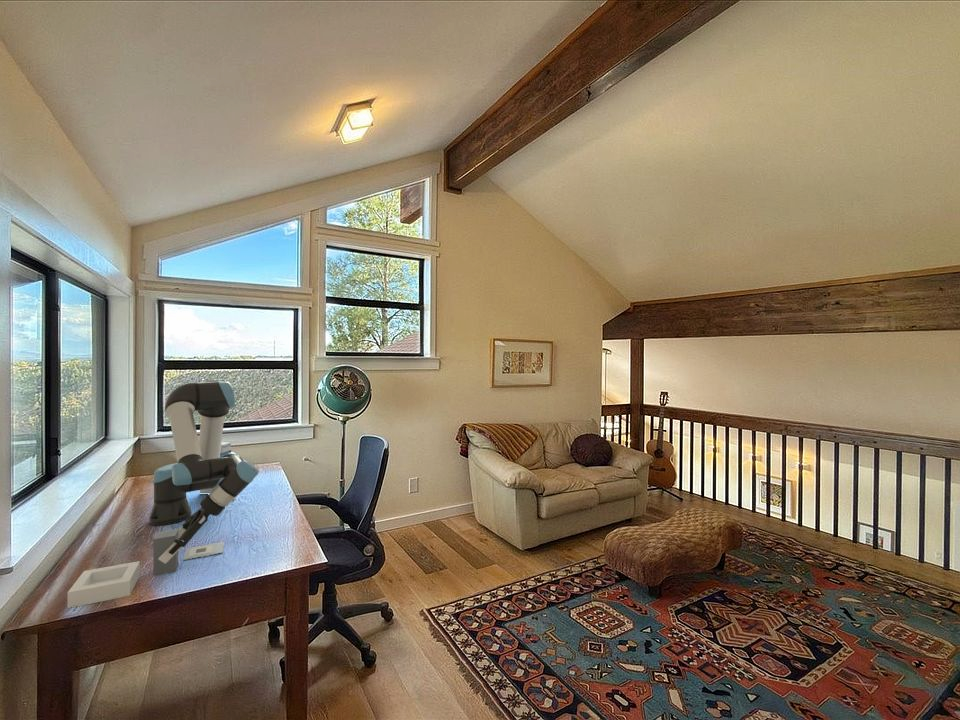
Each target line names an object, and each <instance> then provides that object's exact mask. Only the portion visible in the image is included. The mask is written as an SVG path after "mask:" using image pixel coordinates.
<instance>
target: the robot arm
mask: <svg viewBox="0 0 960 720" xmlns="http://www.w3.org/2000/svg"><path fill="white" fill-rule="evenodd" d="M235 406H236V399H235V392H234V388H233V385H232V383H230V382H229V381H204V382H203V381H202V382H186V383H184V384H181V385H178V387H176V388H174V389H173V390H172V392H170V394H169V395H168V397H167V398H166V401H165V403H164V412H165V413H164V414H165V416H166V417H167V418H169V423H170V427H171V428H170V429H171V433H172V439H173V445H174V450H175V458H176V462H175V463H171V464H167V465H163V466H161V467H159V468H157V469H155V471H154V473H153V479H152V482H153V506H152V508H151V511H150V513H149V517H148V524H149V525H152V526H166V525H167V526H168V525H172V524H177V523H181V522H183V521H184V523H182V525H181V526H179V528H178V540H177V539H176V540H174V543H173V544H172V545H171V546H170V547H169V548H168V549H167V550H166V551H165V552H164V553H163V554H162V555H161V556H160V557H159V558H158V560H160V561H162V562H163V563H165V564H166V563H167V562H168V561H169V560H170V559H171V558H172V557H173V556H174V555H175V554H176V553H177V552H178V553H179V552H180V550H181V549H182V548H184V547H186V546H187V545H188V543H189V542H190V540H192V539H193V537H194V536H195V534H197V532H198V531H199V530H200V529H201V528H202V527H203V526H204V525H205V524H206V523H207V522H208V520H209V516H211V515H212V516H214V517H218V516H219V515H220V514H221V513H222V512H223V511H224V510H225V509H226V507H228V506H229V505H230V503H232V502H233V503H234V502H235V501H236V499H235V498H236V497H237V496H238V495H240V494H241V492H242V491H244V490H245V489H246V488H247V487H248V486H249V484H251V483H252V482H253V481H254V479H255V478H256V477H257V476H258V475H259V472H260V471H259V468H258V467H256V466H255V464H253V463H252V462H251V461H249V460H247V459H243V458H242V457H241V456H240V454H238V453H236V452H233V451H231V452H228V453H226V454H224V455H222V456H221V457H220V450H221V442H223V441H222V440H223V431H224V422H225V417H226V416H227V415H228V414H229V412H230V409H234V408H235ZM196 411H197V414H198V415H200V425H199V435H198V432H197V427H196V423H195V417H194V413H195V412H196ZM214 487H215V488H214ZM209 488H213V489H212V490H211V491H210V494H209V495H205V496H204V497H203V498H202V500H201V501H200V502H199V506H200V508H198V510H196V511H195V512H194V513H192V509H191V507H190V504H189V502H188V499H187V493H189V492H197V491H200V490H203V489H209Z"/></svg>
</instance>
